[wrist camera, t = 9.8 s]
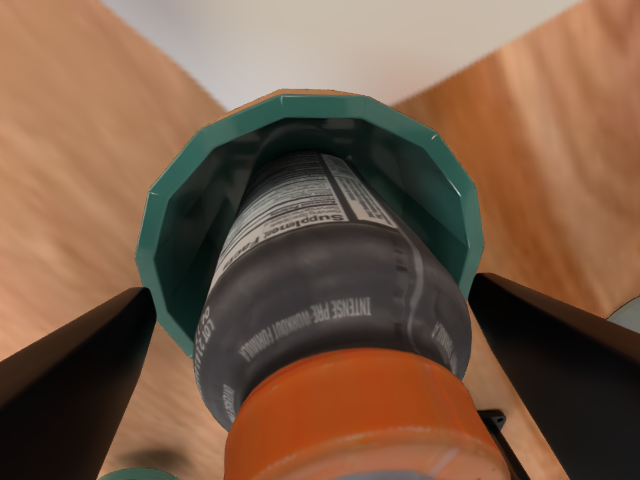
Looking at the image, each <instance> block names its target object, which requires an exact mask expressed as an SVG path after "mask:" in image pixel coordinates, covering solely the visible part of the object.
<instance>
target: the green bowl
mask: <svg viewBox="0 0 640 480" xmlns="http://www.w3.org/2000/svg"><path fill="white" fill-rule="evenodd" d="M301 149H314V150H322V151H326V152H329V153H332V154H335V155H337V156H339V157H341V158H343V159H344V160H346V161H347V162H349V163H350V164H352V165H353V166H354V167H355V168H356V169H357V170H358V171H359V172H360V173H361V174H362V176H363V177H364V178H365V179H366V180H367V181H368V182H369V183H370V185H371V186H372V187H373V188H374V189H375V190H376V191H377V192H378V193H379V194H380V196H381V197H382V198H383V199H384V200H385V201H386V202H387V203H388V204H389V205H390V206H391V207H392V208H393V209H394V210H395V212H396V213H397V214H398V215H399V216H400V218H401V219H402V220H403V221H404V222H405V223H406V224H407V225H408V226H409V228H410V229H411V230H412V231H413V232H414V233H415V234H416V235H417V236H418V237H419V238H420V239H421V241H422V242H423V243H424V244H425V245H426V246H427V247H428V249H429V250H430V251H431V252H432V254H433V255H434V256H435V257H436V258H437V260H438V261H439V262H440V263H441V264H442V265H443V266H444V267H445V268H446V269H447V271H448V272H449V273H450V274H451V275H452V277H453V279H454V280H455V282H456V284H457V285H458V287H459V288H460V291H461V293H462V295H463V297H464V299H465V302H466V301H467V300H468V295H469V292H470V288H471V285H472V282H473V278H474V276H475V275H476V272H477V269H478V266H479V262H480V259H481V256H482V252H483V249H484V237H483V230H482V223H481V216H480V209H479V202H478V195H477V188H476V187H475V183H474V182H473V181H472V179H471V178H470V176H469V175H468V174H467V172H466V171H465V169H464V168H463V167H462V165H461V164H460V162H459V161H458V160H457V158H456V157H455V155H454V154H453V153H452V151H451V150H450V148H449V147H448V146H447V144H446V143H445V141H444V140H443V139H442V137H441V136H440V134H439V133H438V132H436V131H435V130H434V129H432V128H430V127H428V126H426V125H424V124H422V123H420V122H418V121H416V120H414V119H412V118H410V117H408V116H406V115H405V114H403V113H401V112H399V111H397V110H395V109H393V108H391V107H389V106H387V105H385V104H383V103H381V102H379V101H377V100H375V99H373V98H371V97H369V96H365V95H359V94H353V93H347V92H341V91H335V90H312V89H281V90H277V91H275V92H272V93H270V94H268V95H266V96H263V97H261V98H258V99H256V100H254V101H252V102H250V103H247V104H245V105H243V106H241V107H238V108H236V109H234V110H232V111H230V112H229V113H227V114H225V115H223V116H222V117H220V118H218V119H216V120H215V121H213V122H211V123H209V124H208V125H206V126H204V127H202V128H201V129H200V130H198V131H197V132H196V134H195V135H194V136H193V137H192V138H191V139H190V141H189V142H188V143H187V144H186V145H185V147H184V148H183V149H182V150H181V151H180V153H179V154H178V155H177V156H176V157H175V158H174V160H173V161H172V162H171V163H170V164H169V166H168V167H167V168H166V169H165V170H164V172H163V173H162V174H161V175H160V176H159V177H158V179H157V180H156V181H155V182H154V183H153V185H152V186H151V187H150V190H149V191H148V194H147V199H146V204H145V209H144V213H143V218H142V223H141V227H140V232H139V237H138V242H137V246H136V251H135V261H136V264H137V267H138V271H139V274H140V278H141V281H142V285H143V287H147V288H149V289H150V291H151V294H152V297H153V301H154V305H155V308H156V312H157V319H156V321H157V322H158V323H159V324H160V325H161V326H162V327H163V329H164V330H165V331H166V332H167V333H168V334H169V335H170V337H171V338H172V339H173V340H174V341H175V342H176V343H177V345H178V346H179V347H180V348H181V349H182V350H183V351H184V353H185V354H186V355H187V356H188V357H190V358H191V359H193V349H194V340H195V332H196V329H197V326H198V323H199V320H200V317H201V313H202V311H203V308H204V305H205V302H206V299H207V296H208V293H209V290H210V287H211V283H212V279H213V277H214V273H215V270H216V267H217V263H218V259H219V257H220V254H221V252H222V249H223V246H224V244H225V241H226V238H227V236H228V234H229V231H230V229H231V226H232V223H233V220H234V217H235V215H236V212H237V209H238V207H239V203H240V201H241V198H242V195H243V193H244V191H245V188H246V186H247V184H248V183H249V181H250V179H251V178H252V177H253V175H254V174H255V173H256V172H257V171H258V170H259V169H260V168H261V167H262V166H263V165H264V164H266V163H267V162H269V161H270V160H272V159H274V158H276V157H278V156H279V155H282V154H284V153H287V152H290V151H295V150H301Z"/></svg>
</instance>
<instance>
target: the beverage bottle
mask: <svg viewBox="0 0 640 480" xmlns="http://www.w3.org/2000/svg"><path fill="white" fill-rule="evenodd" d="M98 480H180V479H178V478H177V477H175V476H174V475H172V474H169V473H167V472H164V471H160V470H156V469H149V468H130V469H122V470H118V471H114V472H111V473H109V474H106V475H104V476H102V477H101V478H99V479H98Z"/></svg>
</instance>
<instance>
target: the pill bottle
mask: <svg viewBox="0 0 640 480" xmlns="http://www.w3.org/2000/svg"><path fill="white" fill-rule="evenodd" d="M471 343H472V330H471V321H470V316H469V312H468V308H467V304H466V302H465V299H464V297H463V295H462V293H461V291H460V288H459V287H458V285H457V284H456V282H455V280H454V279H453V277H452V275H451V274H450V273H449V272H448V271H447V269H446V268H445V267H444V266H443V265H442V264H441V263H440V262H439V261H438V260H437V258H436V257H435V256H434V255H433V254H432V252H431V251H430V250H429V249H428V247H427V246H426V245H425V244H424V243H423V242H422V241H421V239H420V238H419V237H418V236H417V235H416V234H415V233H414V232H413V231H412V230H411V229H410V228H409V226H408V225H407V224H406V223H405V222H404V221H403V220H402V219H401V218H400V216H399V215H398V214H397V213H396V212H395V210H394V209H393V208H392V207H391V206H390V205H389V204H388V203H387V202H386V201H385V200H384V199H383V198H382V197H381V196H380V194H379V193H378V192H377V191H376V190H375V189H374V188H373V187H372V186H371V185H370V183H369V182H368V181H367V180H366V179H365V178H364V177H363V176H362V174H361V173H360V172H359V171H358V170H357V169H356V168H355V167H354V166H353V165H352V164H350V163H349V162H347V161H346V160H344V159H343V158H341V157H339V156H337V155H335V154H332V153H329V152H326V151H322V150H314V149H301V150H295V151H290V152H287V153H284V154H282V155H279V156H278V157H276V158H274V159H272V160H270V161H269V162H267V163H266V164H264V165H263V166H262V167H261V168H260V169H259V170H258V171H257V172H256V173H255V174H254V175H253V177H252V178H251V179H250V181H249V183H248V184H247V186H246V188H245V191H244V193H243V195H242V198H241V201H240V203H239V207H238V209H237V212H236V215H235V217H234V220H233V223H232V226H231V229H230V231H229V234H228V236H227V238H226V241H225V244H224V246H223V249H222V252H221V254H220V257H219V259H218V263H217V267H216V270H215V273H214V277H213V279H212V283H211V287H210V290H209V293H208V296H207V299H206V302H205V305H204V308H203V311H202V313H201V317H200V320H199V323H198V326H197V329H196V332H195V340H194V349H193V364H194V373H195V379H196V384H197V386H198V389H199V392H200V394H201V396H202V399H203V401H204V403H205V405H206V407H207V408H208V410H209V411H210V412H211V414H212V415H213V417H214V418H215V419H216V420H217V421H218V423H219V424H220V425H221V426H222V427H223V428H224V429H226V430H227V431H228V432H229V433H228V437H227V440H226V446H225V458H224V468H225V473H224V480H511V476H510V472H509V469H508V466H507V464H506V461H505V460H504V458H503V456H502V454H501V452H500V450H499V449H498V447H497V445H496V444H495V442H494V440H493V439H492V437H491V435H490V434H489V432H488V430H487V428H486V427H485V425H484V423H483V421H482V420H481V418H480V416H479V414H478V413H477V410H476V408H475V405H474V403H473V400H472V398H471V396H470V393H469V391H468V390H467V388H466V387H465V386H464V384H463V383H462V382H461V381H462V379H463V377H464V375H465V372H466V369H467V366H468V362H469V359H470V354H471Z"/></svg>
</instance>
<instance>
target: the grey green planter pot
mask: <svg viewBox="0 0 640 480" xmlns="http://www.w3.org/2000/svg"><path fill="white" fill-rule="evenodd" d="M607 320H608V321H610V322H613V323H615V324H618V325H620V326H622V327H625V328H627V329H630V330H632V331H635V332H637V333H639V334H640V296H639V297H637V298H636V299H634V300H632V301H630V302H629V303H627V304H626V305H624V306H623V307H621V308H620V309H619V310H617V311H616V312H615V313H614V314H613V315H612V316H610V317H609V318H608V319H607Z"/></svg>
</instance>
